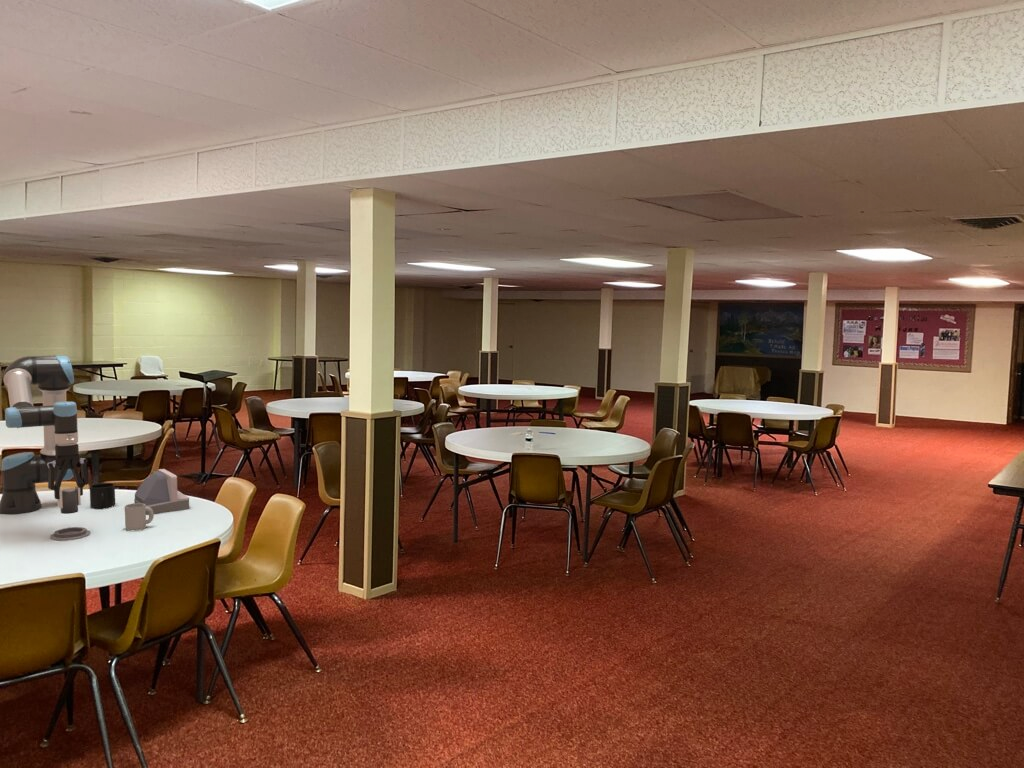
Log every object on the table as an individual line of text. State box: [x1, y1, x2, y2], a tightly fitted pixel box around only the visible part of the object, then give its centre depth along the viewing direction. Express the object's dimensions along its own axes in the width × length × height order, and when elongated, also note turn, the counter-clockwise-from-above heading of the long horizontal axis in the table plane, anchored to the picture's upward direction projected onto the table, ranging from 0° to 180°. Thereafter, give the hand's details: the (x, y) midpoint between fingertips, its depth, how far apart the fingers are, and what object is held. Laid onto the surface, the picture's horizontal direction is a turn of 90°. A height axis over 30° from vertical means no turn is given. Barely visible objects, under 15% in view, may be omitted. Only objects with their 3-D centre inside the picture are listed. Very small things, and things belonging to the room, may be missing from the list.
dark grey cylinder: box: [60, 488, 79, 515], centre depth 297 cm, size 6×6×8 cm
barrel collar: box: [49, 526, 91, 541], centre depth 298 cm, size 13×13×2 cm
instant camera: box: [133, 468, 190, 516], centre depth 340 cm, size 21×21×15 cm
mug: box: [89, 482, 116, 510], centre depth 340 cm, size 9×12×9 cm
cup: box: [124, 502, 155, 531], centre depth 309 cm, size 7×10×9 cm
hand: (69, 506), depth 297 cm, fingers closed on dark grey cylinder, 5 cm apart
